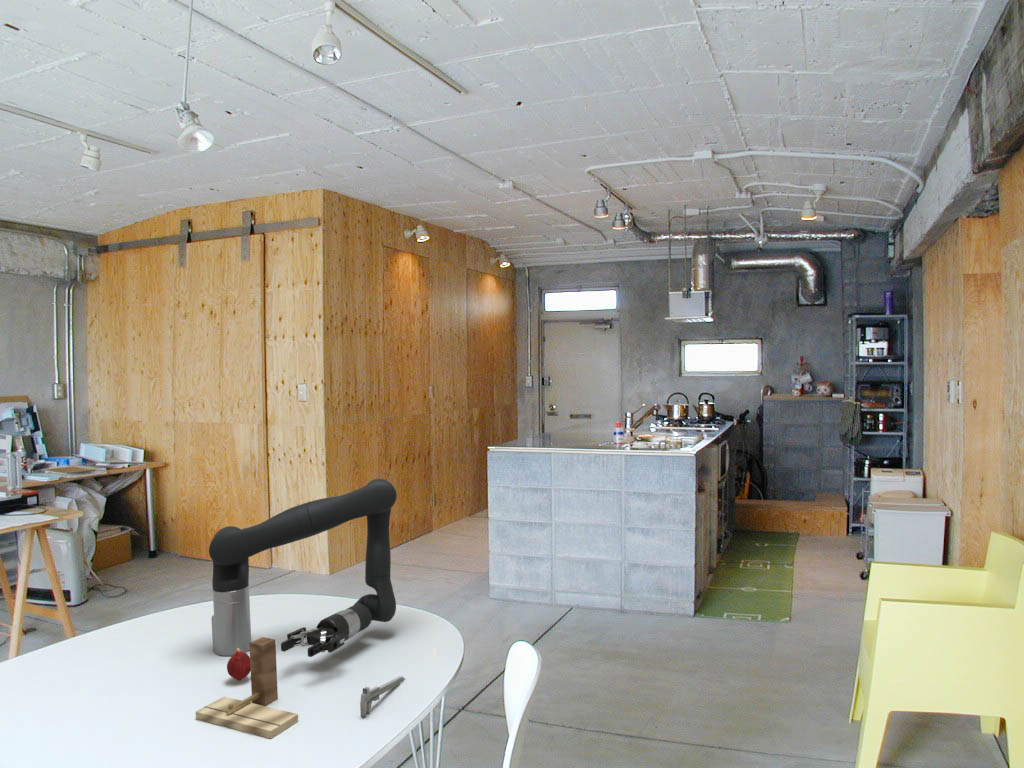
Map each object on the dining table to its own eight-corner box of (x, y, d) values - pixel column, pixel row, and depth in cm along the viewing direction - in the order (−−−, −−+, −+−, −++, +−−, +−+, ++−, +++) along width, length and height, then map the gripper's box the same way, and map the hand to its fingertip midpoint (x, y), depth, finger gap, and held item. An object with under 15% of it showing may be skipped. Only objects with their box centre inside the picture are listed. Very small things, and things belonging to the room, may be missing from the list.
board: (196, 718, 165) (195, 711, 165) (224, 703, 173) (224, 696, 172) (271, 738, 156) (270, 730, 156) (298, 721, 163) (297, 713, 163)
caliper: (365, 719, 163) (364, 691, 163) (360, 719, 164) (359, 690, 163) (405, 680, 183) (404, 654, 182) (401, 679, 183) (400, 654, 183)
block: (221, 720, 164) (218, 657, 164) (264, 695, 176) (262, 636, 175) (234, 724, 162) (231, 660, 162) (277, 698, 174) (275, 639, 173)
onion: (257, 677, 186) (256, 645, 186) (242, 687, 181) (240, 654, 181) (238, 674, 188) (236, 643, 188) (222, 684, 183) (220, 652, 182)
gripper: (317, 610, 200) (272, 631, 185) (360, 617, 193) (317, 639, 179) (318, 637, 200) (273, 661, 185) (361, 645, 194) (318, 670, 179)
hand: (295, 650), depth 182 cm, fingers open, 8 cm apart
